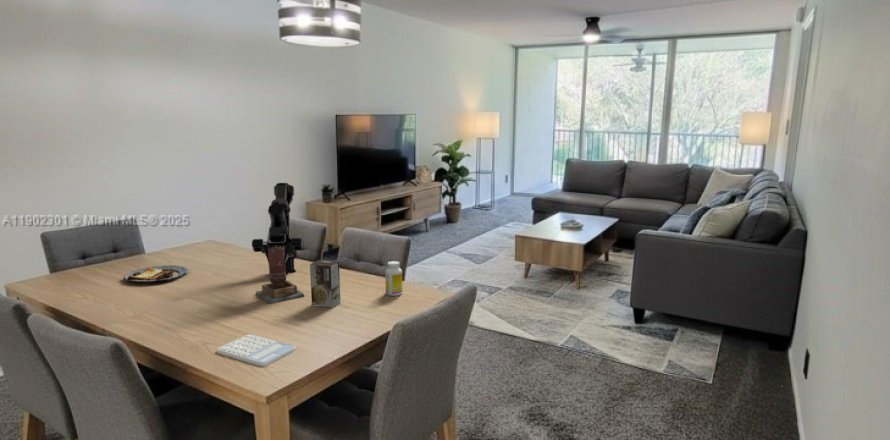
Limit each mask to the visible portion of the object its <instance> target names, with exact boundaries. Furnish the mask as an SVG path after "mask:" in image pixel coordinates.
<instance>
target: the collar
mask: <svg viewBox="0 0 890 440" xmlns="http://www.w3.org/2000/svg"><path fill="white" fill-rule="evenodd" d="M255 295H256V296H257V297H259V298H261V299H262V300H263V301H264V302H266V303H267V304H270V305H271V304H274V303H279V302H284V301H289V300H293V299H294V300H295V299H298V298H303V297H305V294H304V293H303V292H301V291H299V290H298V286H297V285H296V284H294V283H293V282H291V281H290V280H288V279H286V281H285V282H283V283H279V284H274V283H271V282H268V283H264V284H261V290H257V291H255Z"/></svg>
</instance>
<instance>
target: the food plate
mask: <svg viewBox="0 0 890 440" xmlns="http://www.w3.org/2000/svg"><path fill="white" fill-rule="evenodd" d="M189 271H190V268H188V267H185V266H183V265H174V264H172V265H171V264H170V265H169V264H168V265H167V264H166V265H155V266H147V267H143V268H142V267H141V268H138V269H134V270H131V271H130V272H128V273H126V274H125V275H123V280H126V281H128V282H139V283H155V282H158V281H160V282H161V281H165V280H166V281H168V280H173V279H178V278H180V277H181V276H182V275H184V274H186V273H187V272H189ZM174 273H175V274H174Z"/></svg>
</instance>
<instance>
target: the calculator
mask: <svg viewBox="0 0 890 440" xmlns="http://www.w3.org/2000/svg"><path fill="white" fill-rule="evenodd" d="M296 348H297V347H296V346H295V345H293V344H290V343H285V342H282V341H278V340H274V339H270V338H266V337H263V336H259V335H255V334H249V333H248V334H246V335H243V336H242V337H239V338H238V339H235V340H233V341H230V342H228V343H226V344H223V345H220V346H219V347H217V348H216V353H217V354H220V355H222V356H226V357H229V358H232V359H235V360H239V361H243V362H246V363H249V364H253V365H255V366H256V365H257V366H261V367H267V366H269V365H271V364H272V363H275V362H277V361H279V360H280V359H282V358H284V357H286V356H288V355H289V354H292V353H294V352H295V351H296Z"/></svg>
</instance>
